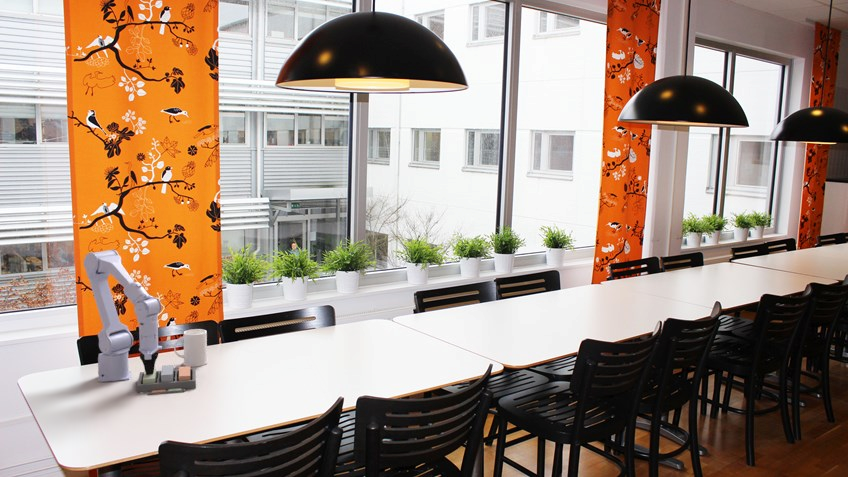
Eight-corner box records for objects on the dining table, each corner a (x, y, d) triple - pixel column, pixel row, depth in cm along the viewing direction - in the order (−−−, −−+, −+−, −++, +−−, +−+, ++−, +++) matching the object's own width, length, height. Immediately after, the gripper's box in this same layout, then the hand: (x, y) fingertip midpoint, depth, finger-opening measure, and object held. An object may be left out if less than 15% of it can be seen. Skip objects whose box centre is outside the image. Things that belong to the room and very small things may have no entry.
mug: (176, 369, 239) (175, 337, 237) (172, 362, 246) (171, 331, 244) (209, 365, 244) (209, 333, 243) (205, 358, 252) (204, 327, 250)
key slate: (161, 385, 219) (160, 375, 218) (162, 375, 228) (162, 365, 228) (172, 384, 220) (172, 374, 219) (173, 374, 229) (173, 364, 229)
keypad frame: (137, 393, 215) (136, 385, 215) (140, 379, 227) (139, 372, 227) (195, 388, 221) (195, 380, 221) (195, 375, 233) (195, 368, 233)
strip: (148, 394, 214) (148, 392, 214) (148, 392, 216) (148, 390, 216) (184, 391, 217) (184, 389, 217) (184, 389, 219) (184, 387, 219)
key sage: (143, 389, 217) (142, 379, 216) (145, 379, 226) (144, 369, 226) (155, 388, 218) (154, 378, 218) (156, 378, 227) (156, 368, 227)
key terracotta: (178, 386, 221) (178, 376, 220) (179, 376, 230) (179, 366, 229) (190, 385, 222) (190, 375, 221) (190, 375, 231) (190, 366, 231)
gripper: (160, 339, 214) (161, 380, 216) (162, 328, 228) (163, 366, 230) (137, 341, 212) (138, 382, 214) (140, 329, 226) (141, 367, 228)
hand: (149, 374), depth 222 cm, fingers closed, pressing on key sage
